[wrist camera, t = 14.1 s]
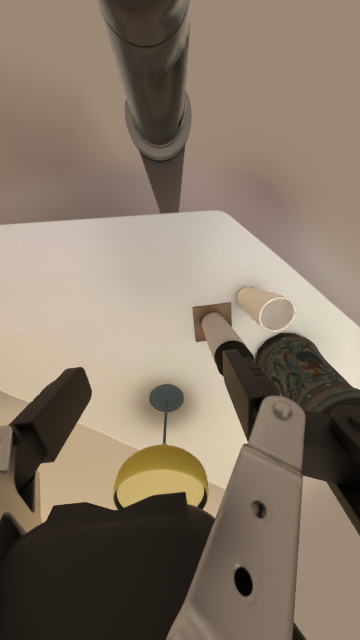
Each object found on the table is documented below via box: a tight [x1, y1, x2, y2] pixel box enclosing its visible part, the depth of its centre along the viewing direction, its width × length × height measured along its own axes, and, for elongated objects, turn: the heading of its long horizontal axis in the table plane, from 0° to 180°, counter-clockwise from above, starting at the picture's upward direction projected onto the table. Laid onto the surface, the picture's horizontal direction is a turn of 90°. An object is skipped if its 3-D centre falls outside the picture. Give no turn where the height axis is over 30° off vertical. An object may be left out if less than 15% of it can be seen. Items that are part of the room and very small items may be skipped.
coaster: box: [193, 303, 232, 342], centre depth 48 cm, size 10×10×1 cm
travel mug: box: [201, 312, 254, 376], centre depth 38 cm, size 6×7×20 cm
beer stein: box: [255, 333, 360, 415], centre depth 41 cm, size 16×19×25 cm
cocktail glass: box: [113, 385, 208, 510], centre depth 45 cm, size 18×18×25 cm
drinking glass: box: [237, 287, 296, 332], centre depth 39 cm, size 7×7×15 cm
